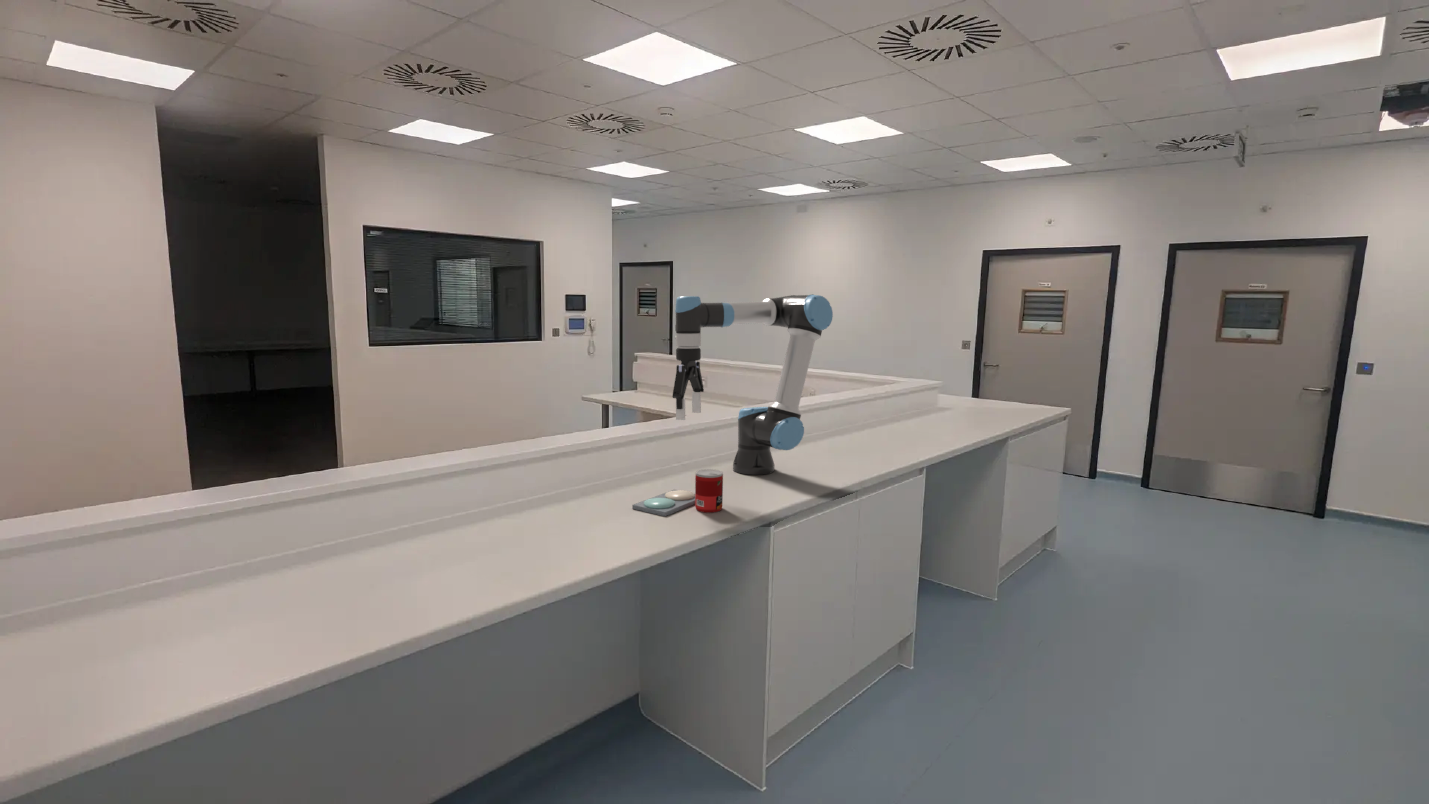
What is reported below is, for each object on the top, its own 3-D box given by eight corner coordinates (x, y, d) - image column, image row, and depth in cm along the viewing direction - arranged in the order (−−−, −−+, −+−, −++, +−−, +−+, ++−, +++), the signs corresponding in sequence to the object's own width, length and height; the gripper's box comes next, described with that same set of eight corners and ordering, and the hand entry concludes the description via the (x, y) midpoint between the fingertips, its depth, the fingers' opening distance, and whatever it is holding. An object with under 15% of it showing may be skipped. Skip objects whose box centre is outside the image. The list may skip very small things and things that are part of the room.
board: (674, 493, 205) (674, 487, 205) (705, 499, 199) (705, 494, 198) (632, 508, 189) (632, 502, 188) (665, 516, 182) (665, 510, 182)
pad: (657, 498, 196) (657, 496, 196) (681, 503, 191) (681, 501, 191) (637, 505, 188) (637, 503, 188) (661, 510, 183) (661, 508, 183)
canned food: (722, 513, 186) (722, 475, 184) (694, 512, 186) (694, 475, 184) (722, 505, 193) (723, 469, 192) (695, 504, 193) (696, 468, 192)
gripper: (691, 344, 211) (691, 409, 214) (660, 349, 188) (661, 422, 191) (713, 345, 209) (713, 410, 212) (684, 350, 185) (685, 423, 188)
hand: (688, 416), depth 201 cm, fingers open, 13 cm apart
